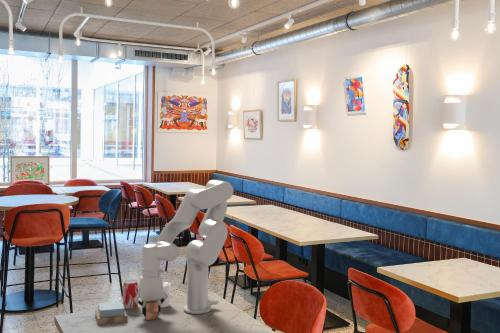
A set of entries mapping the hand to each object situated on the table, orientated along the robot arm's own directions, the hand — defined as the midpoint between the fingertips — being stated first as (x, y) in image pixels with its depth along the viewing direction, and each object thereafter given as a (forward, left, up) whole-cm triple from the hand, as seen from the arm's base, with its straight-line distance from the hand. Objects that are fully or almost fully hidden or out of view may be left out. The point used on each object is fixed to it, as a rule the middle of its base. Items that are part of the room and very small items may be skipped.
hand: (151, 314), depth 225 cm
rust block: (0, 0, -1) cm, 1 cm away
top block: (+16, -5, +1) cm, 17 cm away
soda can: (+6, -17, -2) cm, 18 cm away
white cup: (-8, -15, -2) cm, 17 cm away
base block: (+16, -5, -2) cm, 17 cm away
